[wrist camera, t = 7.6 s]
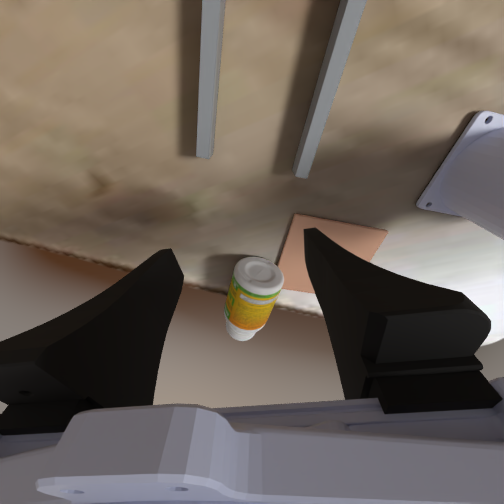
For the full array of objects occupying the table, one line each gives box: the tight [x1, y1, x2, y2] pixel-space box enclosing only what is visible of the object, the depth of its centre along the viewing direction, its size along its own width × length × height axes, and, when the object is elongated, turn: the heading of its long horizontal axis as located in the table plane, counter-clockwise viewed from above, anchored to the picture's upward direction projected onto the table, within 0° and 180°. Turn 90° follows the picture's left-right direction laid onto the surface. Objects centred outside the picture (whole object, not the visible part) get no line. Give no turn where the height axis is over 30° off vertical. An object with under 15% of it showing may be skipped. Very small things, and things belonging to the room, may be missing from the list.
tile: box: [277, 214, 388, 293], centre depth 25 cm, size 10×10×1 cm
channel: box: [196, 0, 367, 179], centre depth 14 cm, size 9×16×2 cm, turn 169°
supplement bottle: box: [224, 257, 284, 341], centre depth 25 cm, size 5×5×10 cm
